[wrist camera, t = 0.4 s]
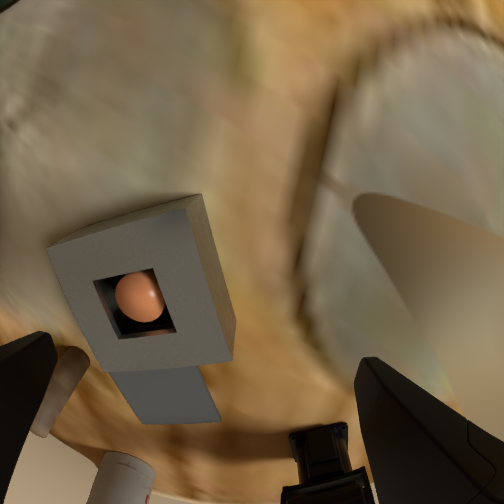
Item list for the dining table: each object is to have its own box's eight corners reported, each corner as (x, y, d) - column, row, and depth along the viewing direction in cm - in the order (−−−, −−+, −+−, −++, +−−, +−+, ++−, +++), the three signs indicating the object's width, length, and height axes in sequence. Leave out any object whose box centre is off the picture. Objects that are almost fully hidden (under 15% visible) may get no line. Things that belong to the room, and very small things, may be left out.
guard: (236, 320, 23) (232, 361, 18) (125, 336, 24) (104, 372, 19) (201, 193, 20) (185, 208, 15) (82, 227, 21) (46, 248, 16)
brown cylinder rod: (94, 367, 25) (52, 440, 16) (75, 368, 26) (32, 435, 16) (82, 345, 25) (32, 416, 15) (62, 346, 25) (13, 412, 15)
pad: (221, 417, 27) (220, 421, 27) (144, 420, 28) (142, 424, 27) (192, 352, 24) (190, 356, 24) (106, 360, 25) (104, 363, 24)
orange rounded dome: (177, 303, 20) (170, 318, 19) (135, 310, 21) (126, 324, 19) (162, 258, 19) (153, 270, 17) (119, 268, 20) (107, 280, 18)
